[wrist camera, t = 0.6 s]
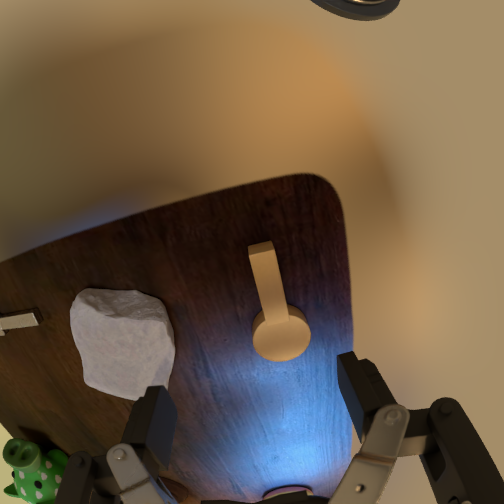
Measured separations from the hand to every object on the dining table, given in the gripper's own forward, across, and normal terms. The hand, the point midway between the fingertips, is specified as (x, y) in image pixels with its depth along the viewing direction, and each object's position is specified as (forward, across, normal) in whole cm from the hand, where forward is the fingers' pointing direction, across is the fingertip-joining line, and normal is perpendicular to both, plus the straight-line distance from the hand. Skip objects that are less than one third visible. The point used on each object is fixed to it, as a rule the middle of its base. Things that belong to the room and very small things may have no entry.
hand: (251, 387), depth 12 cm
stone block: (+14, +13, +5) cm, 20 cm away
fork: (+14, +31, 0) cm, 34 cm away
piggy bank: (+14, +45, +32) cm, 57 cm away
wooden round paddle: (+14, -2, +3) cm, 14 cm away
